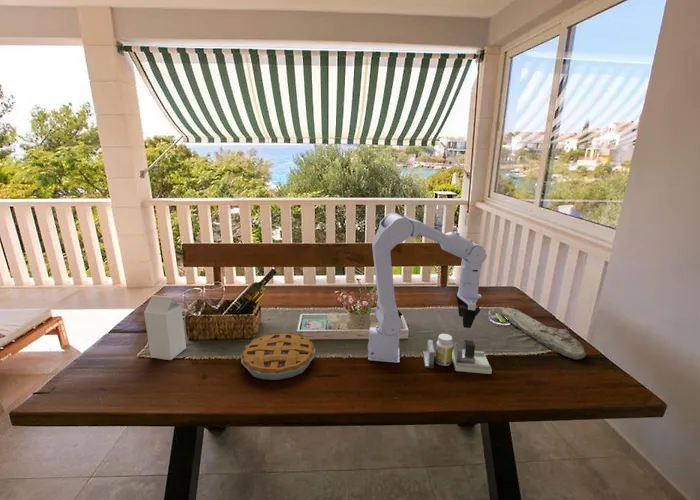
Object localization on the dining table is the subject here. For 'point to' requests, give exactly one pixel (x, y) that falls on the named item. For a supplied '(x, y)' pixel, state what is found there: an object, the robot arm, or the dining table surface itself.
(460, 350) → the grey boxy piece
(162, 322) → the milk carton
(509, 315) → the long grey stone
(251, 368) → the pie
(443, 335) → the supplement bottle
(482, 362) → the bed
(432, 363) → the jaw
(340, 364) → the dining table surface
